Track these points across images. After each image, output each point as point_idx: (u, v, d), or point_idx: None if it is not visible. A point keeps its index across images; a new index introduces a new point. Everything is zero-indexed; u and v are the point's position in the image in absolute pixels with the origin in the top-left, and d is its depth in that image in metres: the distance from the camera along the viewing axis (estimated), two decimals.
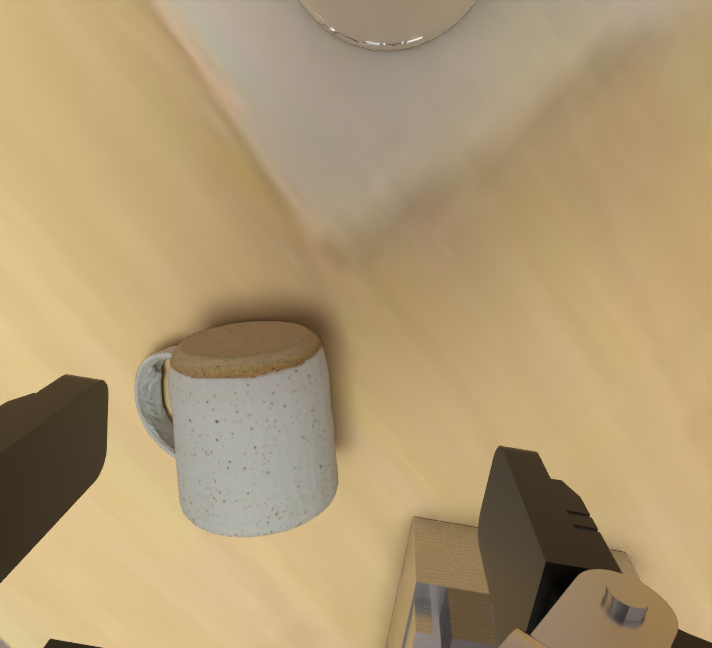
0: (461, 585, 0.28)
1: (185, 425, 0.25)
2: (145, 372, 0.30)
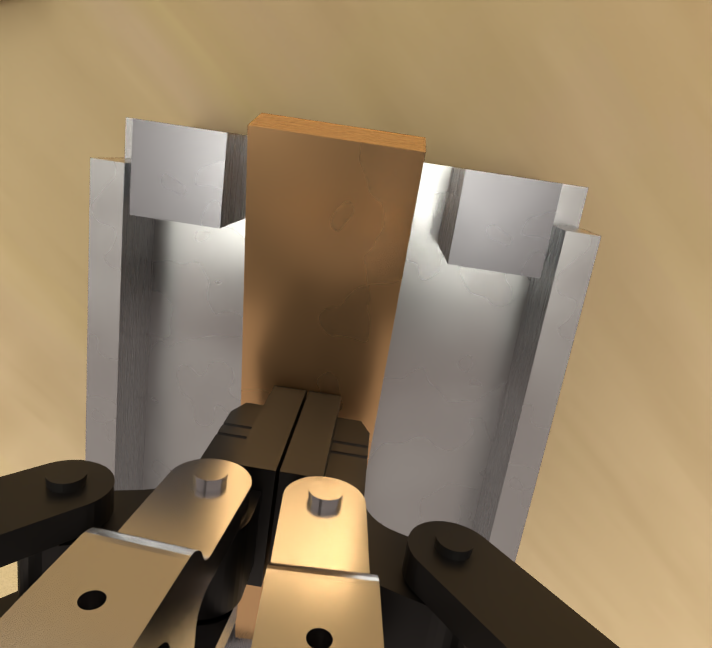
0: None
1: None
2: None
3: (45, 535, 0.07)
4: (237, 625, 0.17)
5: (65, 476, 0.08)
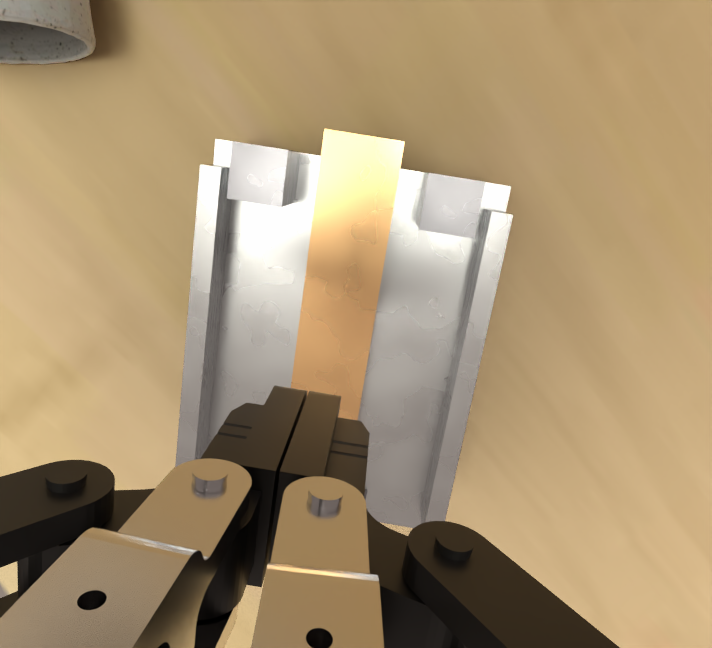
0: None
1: None
2: None
3: (46, 535, 0.07)
4: None
5: (65, 476, 0.08)
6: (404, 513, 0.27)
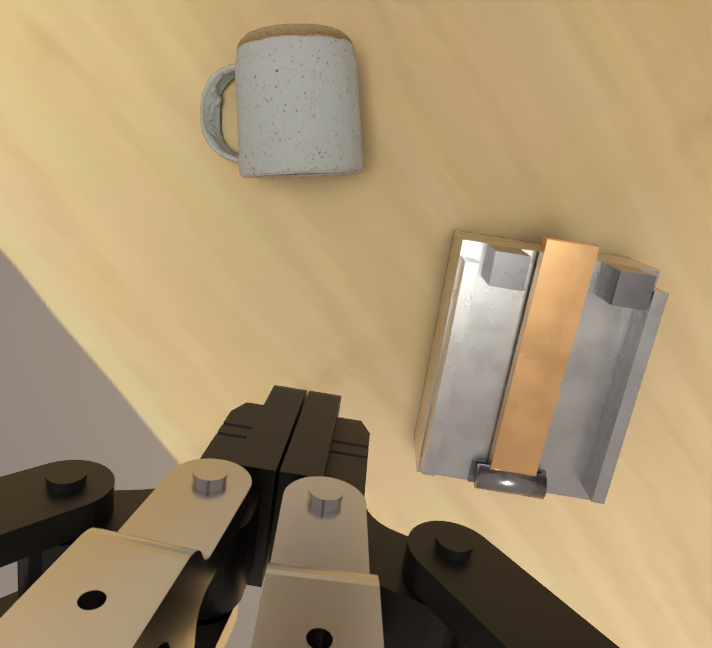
0: (498, 244, 0.35)
1: (250, 83, 0.32)
2: (210, 91, 0.37)
3: (46, 535, 0.07)
4: (493, 460, 0.38)
5: (65, 475, 0.08)
6: (570, 487, 0.39)
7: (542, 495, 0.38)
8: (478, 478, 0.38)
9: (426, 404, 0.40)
